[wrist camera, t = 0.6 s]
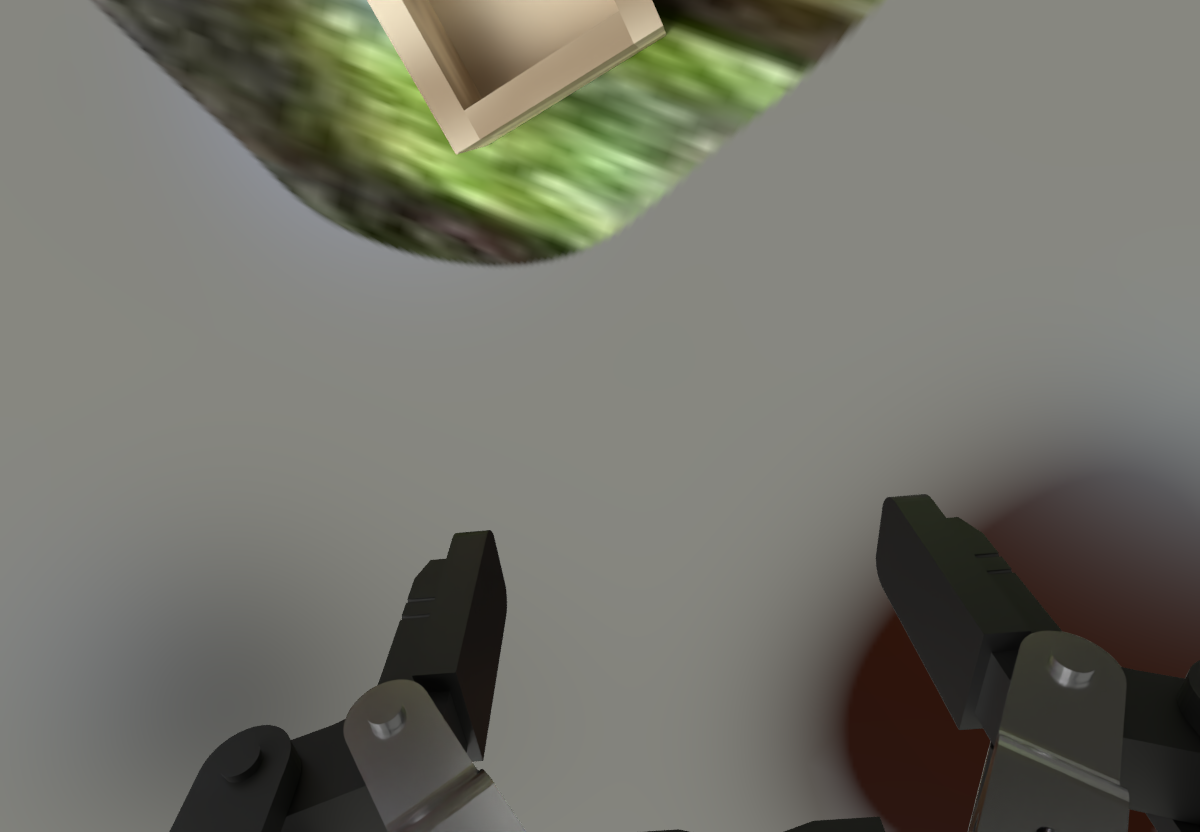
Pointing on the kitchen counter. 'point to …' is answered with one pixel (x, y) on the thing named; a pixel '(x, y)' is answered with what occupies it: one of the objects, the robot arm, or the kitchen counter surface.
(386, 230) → the kitchen counter surface
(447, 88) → the wooden tray
